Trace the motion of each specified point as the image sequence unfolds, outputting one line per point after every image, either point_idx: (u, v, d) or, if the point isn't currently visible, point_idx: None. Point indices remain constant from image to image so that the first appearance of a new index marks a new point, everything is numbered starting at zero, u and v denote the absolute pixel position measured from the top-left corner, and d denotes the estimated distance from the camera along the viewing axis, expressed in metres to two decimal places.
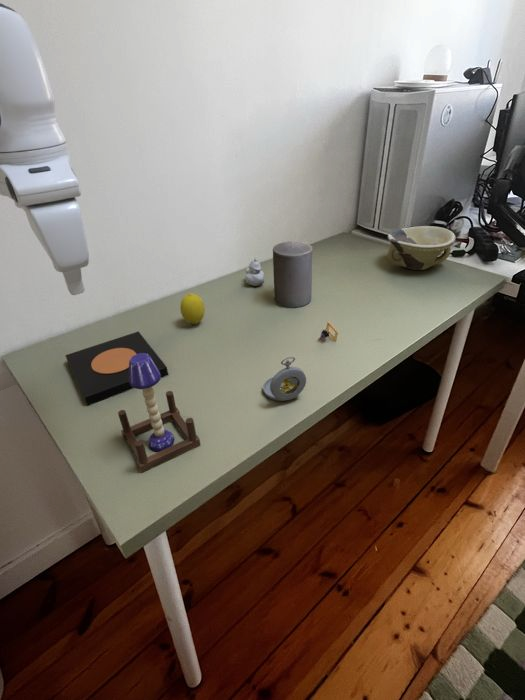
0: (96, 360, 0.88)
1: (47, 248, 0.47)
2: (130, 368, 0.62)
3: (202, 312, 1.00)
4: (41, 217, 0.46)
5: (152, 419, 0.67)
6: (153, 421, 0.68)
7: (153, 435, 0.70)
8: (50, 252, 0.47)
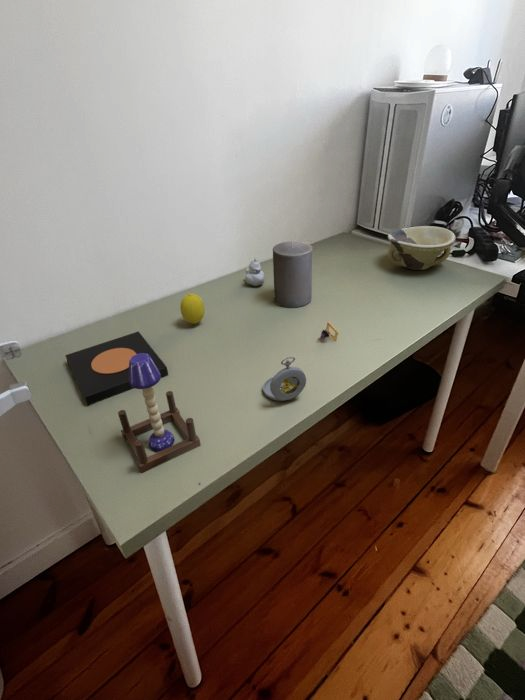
0: (96, 360, 0.88)
1: None
2: (130, 368, 0.62)
3: (202, 312, 1.00)
4: None
5: (152, 419, 0.67)
6: (153, 421, 0.68)
7: (153, 435, 0.70)
8: None
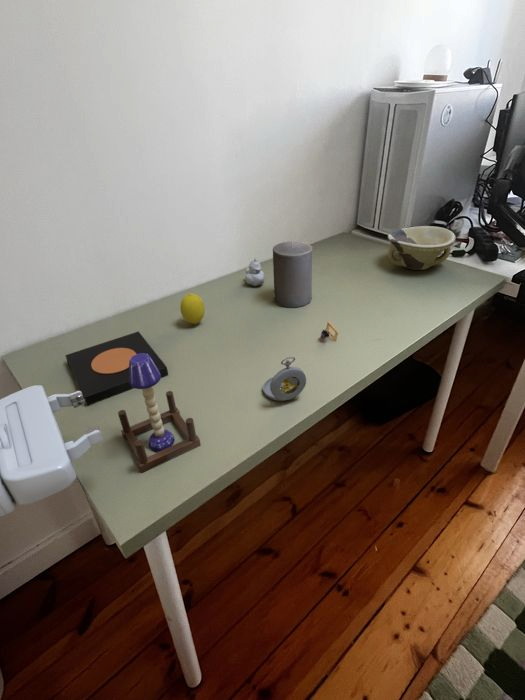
0: (96, 360, 0.88)
1: (53, 493, 0.53)
2: (130, 368, 0.62)
3: (202, 312, 1.00)
4: (23, 501, 0.52)
5: (152, 419, 0.67)
6: (153, 421, 0.68)
7: (153, 435, 0.70)
8: (56, 492, 0.53)
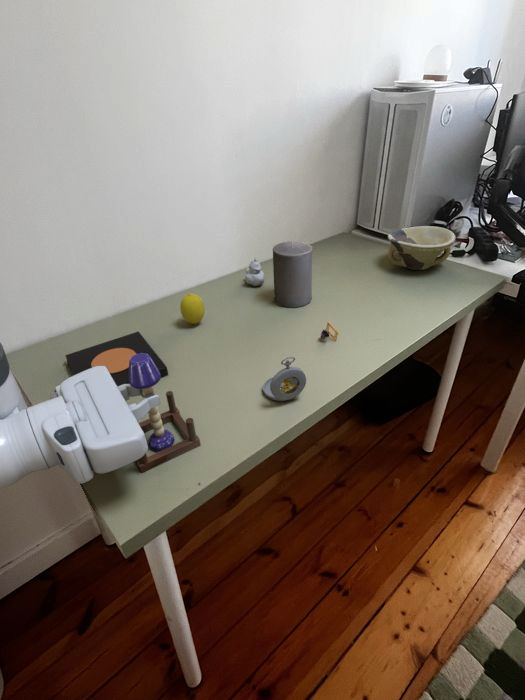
0: (96, 360, 0.88)
1: (127, 463, 0.57)
2: (130, 368, 0.62)
3: (202, 312, 1.00)
4: (102, 470, 0.56)
5: (152, 419, 0.67)
6: (153, 421, 0.68)
7: (153, 435, 0.70)
8: (131, 462, 0.57)
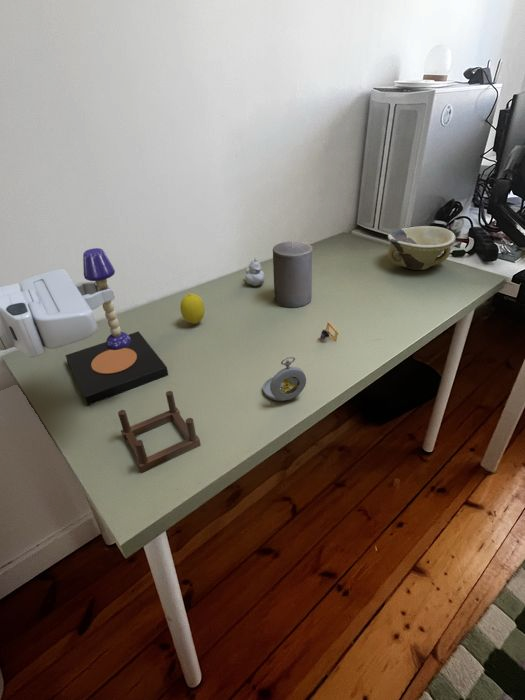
0: (96, 360, 0.88)
1: (77, 341, 0.61)
2: (84, 260, 0.66)
3: (202, 312, 1.00)
4: (52, 344, 0.59)
5: (108, 316, 0.71)
6: (109, 319, 0.71)
7: (110, 335, 0.74)
8: None
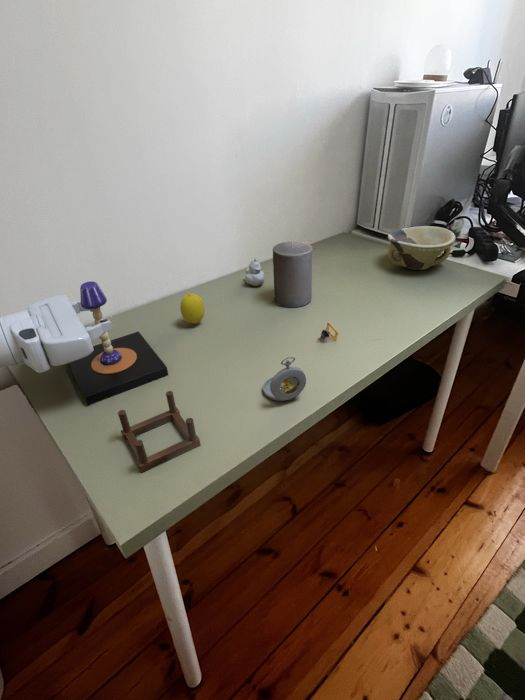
0: (96, 360, 0.88)
1: (77, 359, 0.74)
2: (81, 292, 0.79)
3: (202, 312, 1.00)
4: (56, 362, 0.73)
5: (101, 337, 0.84)
6: (102, 339, 0.85)
7: (104, 353, 0.87)
8: (79, 358, 0.74)
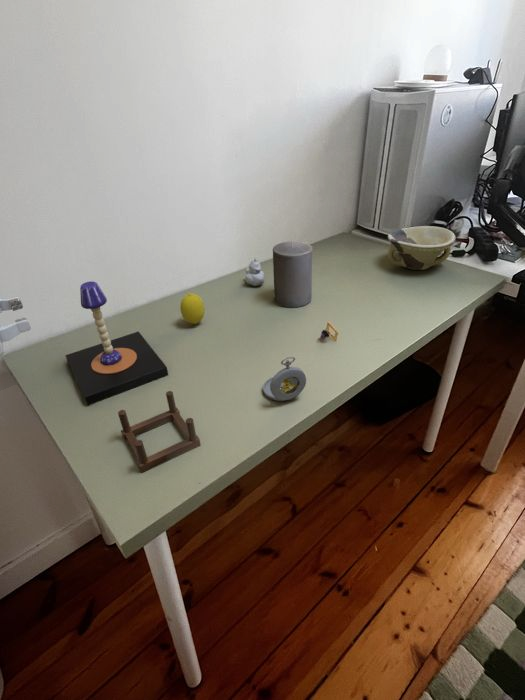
0: (96, 360, 0.88)
1: None
2: (81, 292, 0.79)
3: (202, 312, 1.00)
4: None
5: (101, 337, 0.84)
6: (102, 339, 0.85)
7: (104, 353, 0.87)
8: None
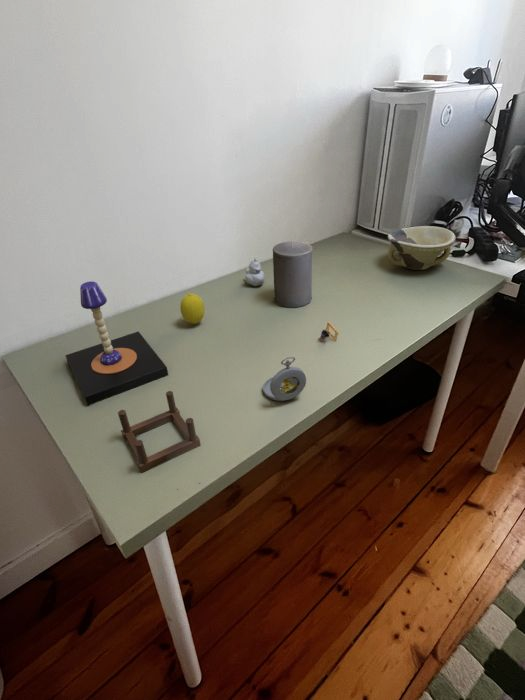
0: (96, 360, 0.88)
1: None
2: (81, 292, 0.79)
3: (202, 312, 1.00)
4: None
5: (101, 337, 0.84)
6: (102, 339, 0.85)
7: (104, 353, 0.87)
8: None
